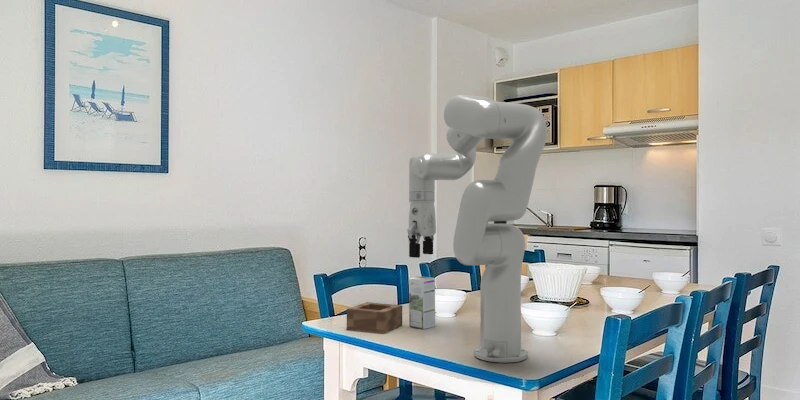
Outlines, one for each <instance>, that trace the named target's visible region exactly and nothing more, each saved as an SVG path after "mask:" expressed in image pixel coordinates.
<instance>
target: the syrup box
mask: <svg viewBox="0 0 800 400" xmlns="http://www.w3.org/2000/svg"><path fill="white" fill-rule="evenodd" d="M408 301H409V302H408V309H409V310H408V311H409V312H408V317H409V318H408V319H409V321H408V322H409V327H410V328H414V329H415V328H416V329H422V330H427V328H428V329H431V327H432V328H434V327H436V279H435V278H434V277H431V276H430V277H428V276H420V275H419V276H413V277H410V278H408Z"/></svg>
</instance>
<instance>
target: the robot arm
mask: <svg viewBox="0 0 800 400" xmlns="http://www.w3.org/2000/svg"><path fill="white" fill-rule="evenodd" d="M443 121H444V123H445V125H446V126H447V127H448V129H447V130H446V141H447V143H448V145H449V147H451V149H452V150H453V151H454V152H455V153H440V152H439V153H433V152H432V153H431V152H430V153H429V152H428V153H422V154H419V155H413V156H411V157H410V158H409V161H408V162H409V163H408V164H409V165H408V168H409V169H408V170H409V173H408V174H409V175H408V177H409V179H408V182H409V183H408V185H409V187H408V195H409V196H408V202H409V204H410V205H409V213H408V228H407V229H406V230H407V231H406V232H407V237H408V251H409V252H408V253H409V254H408V257H409V258H415V259H416V258H418V259H419V258H420V257H421V243H420V240H421V238H423V240H422V254H423V255H433V254H434V240H435V238H434V236H435V235H436V233H437V232H436V231H437V225H436V223H437V221H436V207H435V202H436V201H435V199H436V196H435V195H436V193H435V190H436V187H435V186H436V181H456V180H460V179H461V178H463V177H464V176H465V175H466V174H467V173H468V172H469V171H470V170H472V168H473V166H474V164H475V161H476V157H477V149H476V147H478V145H479V144H480V143H481V142H482V141H484V139H488V140H489V139H490V140H507V141H509V140H510V141H512V143H511V144H510V145H509V146H508V147H507V149H505V151H504V153H502V156H501V157H500V159H499V162H498V166H497V167H498V168H497V171H496V174H495V177H494V179H480V180H479V179H478V180H475V181H473V182H470V183H469V184H468V185H467V187H466V188H465V189H464V191H463V193H462V196H461V200H460V203H459V209H458V214H457V220H456V225H455V229H454V236H453V253H454V256H455V258H456V260H457V261H458V263H460V264H462V265H464V266H484V265H487V266H486V268H484V270H483V273H482V276H481V278H480V291H479V292H480V295H479V296H480V303H479V304H480V310H479V312H480V315H479V316H480V319H479V320H480V322H479V323H480V342H479V343H480V346H478V347H475V348H474V349H473V355H474V357H475V358H477V359H479V360H482V361H484V362H485V361H487V362H490V363H491V362H492V363H502V364H503V363H506V364H507V363H517V362H518V363H519V362H523V361H525V360H526V359H528V351H527V350H526V349H523V348H522V340H521V339H522V336H521V335H522V334H521V333H522V323H521V322H522V317H521V316H522V314H521V313H522V311H521V310H522V307H521V306H522V304H521V303H522V300H521V299H522V296H521V294H522V291H521V289H522V267H523V263H524V262H523V260H524V256H525V252H526V251H525V250H526V238H525V235H524V233H523V232H522V230H521V229H520V228H519V227H517V226H515V225H514V224H511V223H507V224H494V223H489V222H494V221H507V222H513V221H518V220H520V219H522V218H523V217H524V216H525V214H526V212H527V210H528V205H529V202H530V198H531V194H532V189H533V186H534V185H533V184H534V180H535V176H536V171H537V167H538V163H539V161H540V158H541V156H542V153H543V151H544V148H545V146H546V142H547V137H548V125H547V121H546V119H545V116H544V115H543V113H542V112H541V111H540V110H539V109H537V108H536V107H534V106H531V105H529V104H524V103H517V102H504V101H496V100H495V99H493V98H490V97H486V96H481V95H480V96H479V95H468V94H457V95H455V96H452V97H451V98H450V99H449V100H448V101H447V103H446V104H445V107H444V109H443Z"/></svg>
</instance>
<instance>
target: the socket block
mask: <svg viewBox="0 0 800 400" xmlns="http://www.w3.org/2000/svg"><path fill="white" fill-rule="evenodd" d="M402 326H403V305H401V304H393V303H381V302H380V303H378V302H368V301H366V302H363V303H361V304H357V305H354V306H351V307H348V308H346V330H347V331H354V332H356V331H357V332H366V333H371V334H383V335H385V334H386V333H389V332H391V331H393V330H395V328H396V329H398V328H400V327H402Z"/></svg>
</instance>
